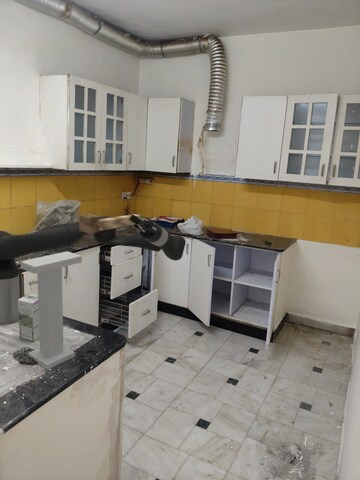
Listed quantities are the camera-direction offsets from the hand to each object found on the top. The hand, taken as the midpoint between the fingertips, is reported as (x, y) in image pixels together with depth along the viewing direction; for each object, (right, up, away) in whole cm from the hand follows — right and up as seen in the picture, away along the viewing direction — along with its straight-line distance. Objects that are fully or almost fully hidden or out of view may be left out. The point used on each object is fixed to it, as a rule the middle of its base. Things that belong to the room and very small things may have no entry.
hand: (127, 216), depth 135 cm
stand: (-22, -45, -15) cm, 52 cm away
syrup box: (-32, -42, -4) cm, 53 cm away
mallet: (-4, -4, -5) cm, 8 cm away
